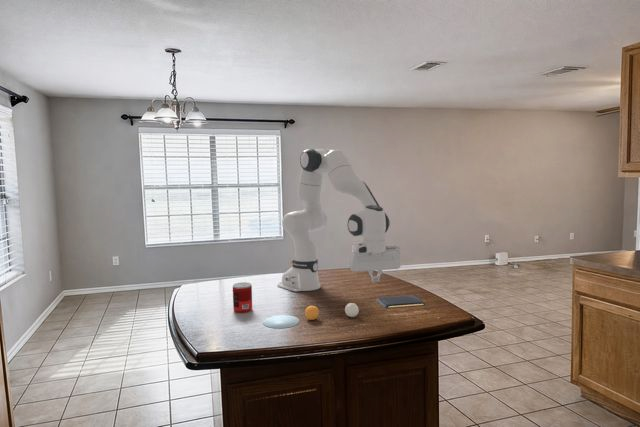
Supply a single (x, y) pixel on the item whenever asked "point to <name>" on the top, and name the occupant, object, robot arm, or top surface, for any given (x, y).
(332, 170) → the robot arm
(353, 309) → the white ping pong ball
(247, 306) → the canned food
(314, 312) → the orange ball
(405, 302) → the wallet
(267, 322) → the light blue disc
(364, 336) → the top surface
